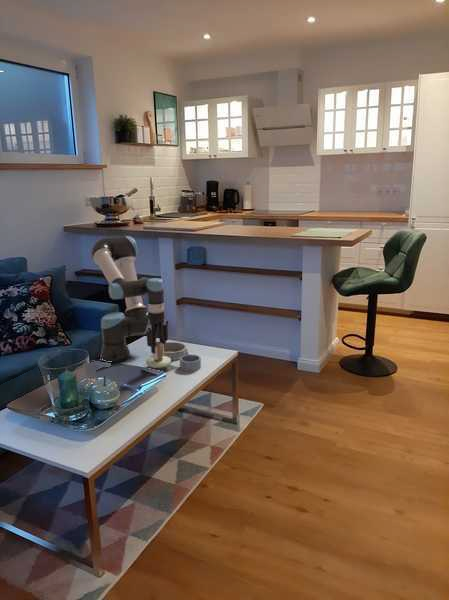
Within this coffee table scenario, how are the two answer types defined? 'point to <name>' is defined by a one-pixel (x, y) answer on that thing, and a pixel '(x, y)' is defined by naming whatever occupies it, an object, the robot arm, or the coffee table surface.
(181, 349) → the dog bowl
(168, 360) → the cover
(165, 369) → the mat
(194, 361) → the bowl
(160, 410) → the coffee table surface
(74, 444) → the coffee table surface
